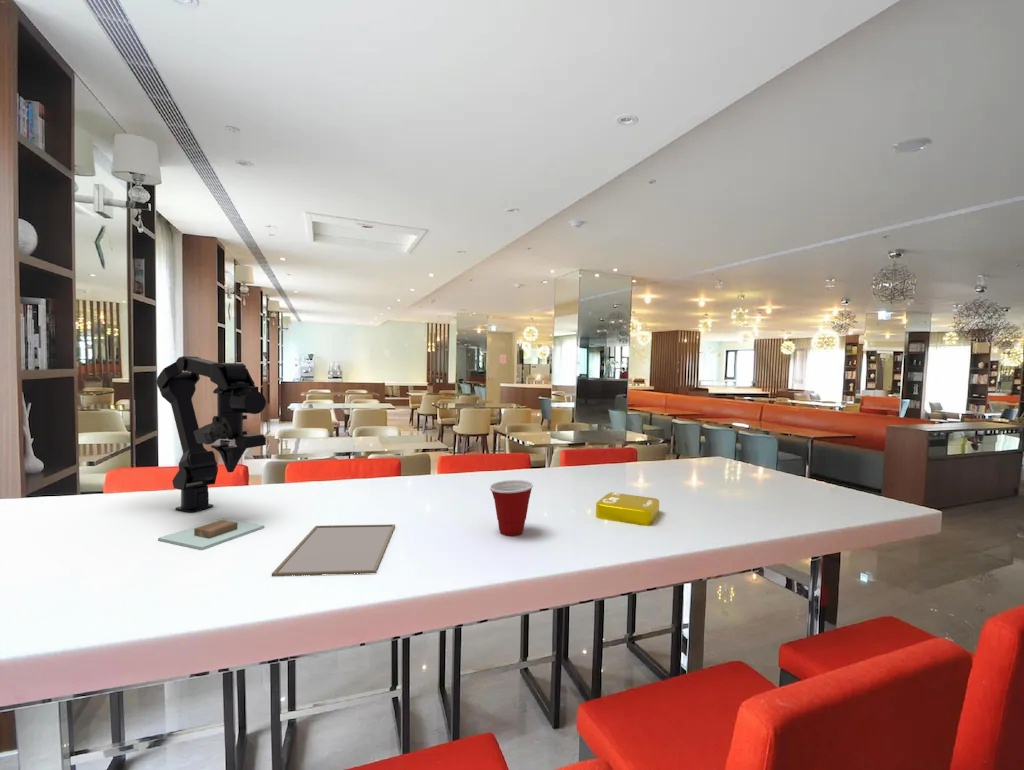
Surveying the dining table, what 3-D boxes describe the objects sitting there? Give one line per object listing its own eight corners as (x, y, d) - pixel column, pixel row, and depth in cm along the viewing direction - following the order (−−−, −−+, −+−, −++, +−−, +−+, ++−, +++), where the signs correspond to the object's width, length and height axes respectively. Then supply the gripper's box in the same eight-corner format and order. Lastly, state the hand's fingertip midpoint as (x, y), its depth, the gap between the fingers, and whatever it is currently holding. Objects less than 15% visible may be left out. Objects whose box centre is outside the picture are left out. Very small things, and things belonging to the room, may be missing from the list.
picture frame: (315, 529, 120) (271, 578, 92) (315, 525, 120) (271, 573, 92) (395, 528, 122) (375, 576, 94) (395, 524, 122) (375, 570, 94)
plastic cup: (484, 526, 123) (485, 479, 123) (525, 523, 126) (526, 477, 126) (493, 541, 113) (494, 490, 112) (538, 538, 116) (539, 488, 115)
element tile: (649, 528, 126) (650, 510, 126) (593, 519, 133) (594, 501, 132) (660, 513, 139) (660, 497, 139) (608, 506, 146) (609, 490, 146)
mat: (158, 540, 109) (158, 537, 109) (223, 520, 124) (223, 517, 124) (202, 550, 104) (202, 547, 104) (264, 527, 119) (264, 525, 119)
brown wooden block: (194, 528, 111) (209, 531, 109) (222, 519, 117) (237, 522, 116) (194, 535, 111) (209, 538, 109) (222, 526, 118) (237, 529, 116)
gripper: (174, 412, 121) (174, 474, 121) (228, 416, 114) (228, 482, 115) (215, 409, 131) (215, 466, 132) (267, 412, 124) (267, 473, 125)
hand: (230, 472), depth 125 cm, fingers closed
